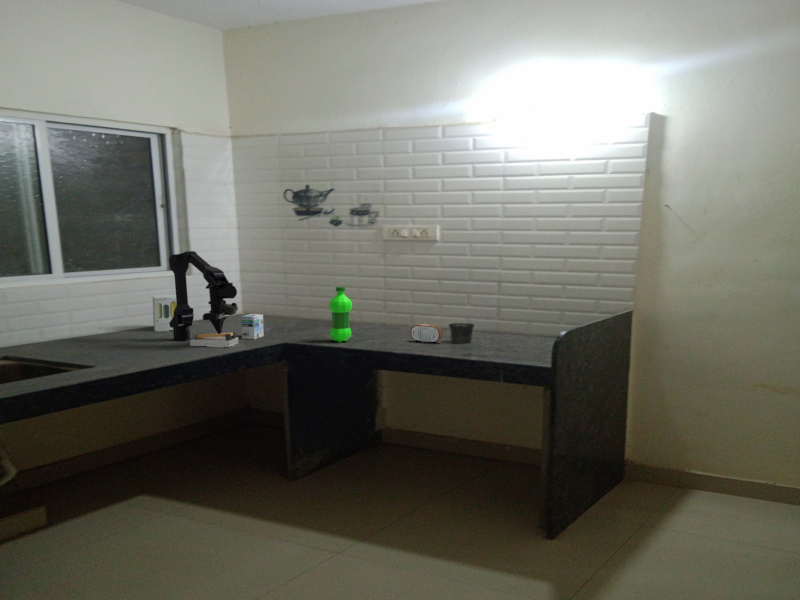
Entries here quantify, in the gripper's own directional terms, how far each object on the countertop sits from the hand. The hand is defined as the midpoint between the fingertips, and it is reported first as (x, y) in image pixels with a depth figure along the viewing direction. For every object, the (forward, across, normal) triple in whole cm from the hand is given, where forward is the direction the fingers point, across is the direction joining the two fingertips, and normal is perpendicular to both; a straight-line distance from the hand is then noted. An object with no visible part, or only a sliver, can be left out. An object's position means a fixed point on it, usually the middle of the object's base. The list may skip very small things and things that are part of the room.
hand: (219, 333), depth 279 cm
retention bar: (+1, 0, +3) cm, 3 cm away
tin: (+11, +20, -89) cm, 92 cm away
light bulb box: (+6, +23, -6) cm, 25 cm away
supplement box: (+2, +42, +46) cm, 63 cm away
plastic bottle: (+8, +18, -50) cm, 54 cm away
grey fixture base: (+5, 0, +3) cm, 6 cm away
